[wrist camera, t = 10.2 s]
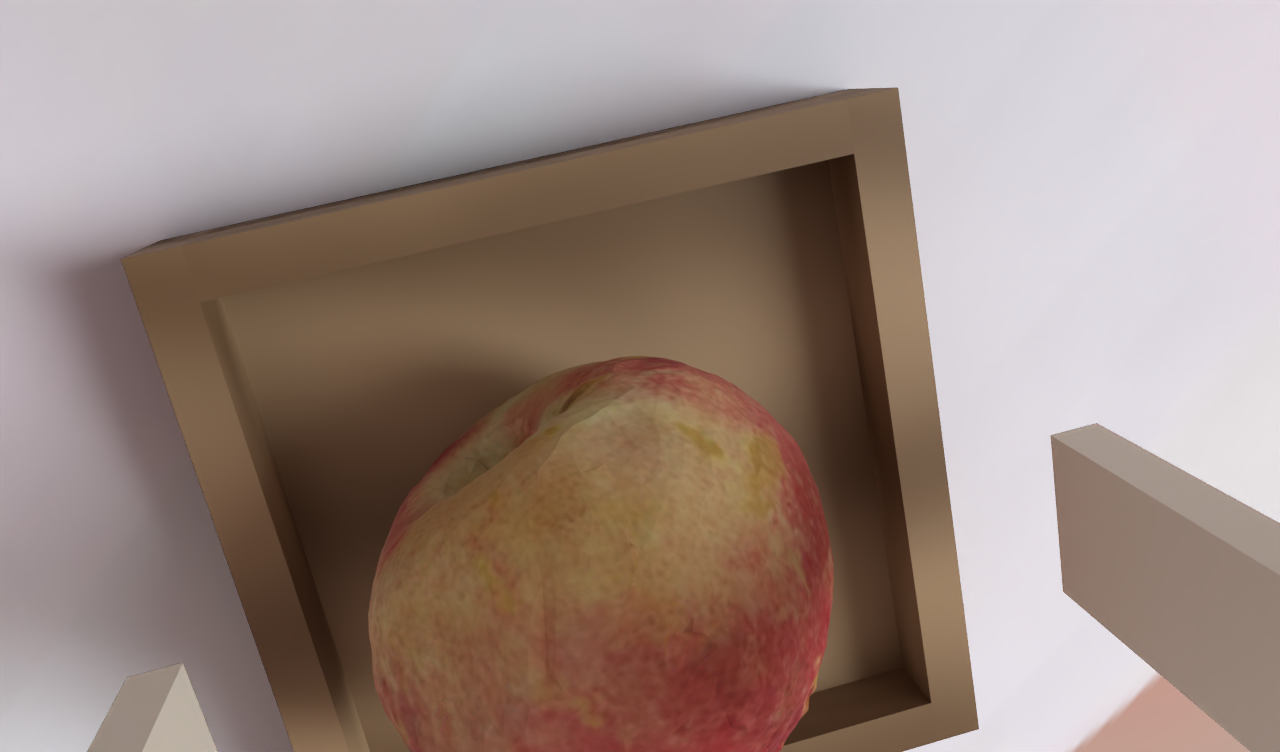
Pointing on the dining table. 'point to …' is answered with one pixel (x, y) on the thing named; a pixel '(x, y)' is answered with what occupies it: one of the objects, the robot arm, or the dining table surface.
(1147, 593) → the robot arm
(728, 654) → the fruit
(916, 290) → the walnut tray
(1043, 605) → the dining table surface
